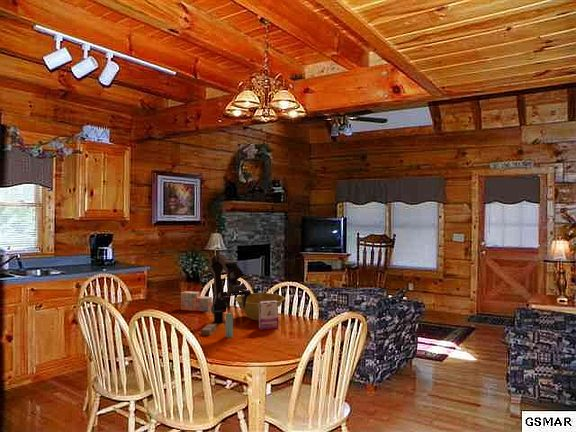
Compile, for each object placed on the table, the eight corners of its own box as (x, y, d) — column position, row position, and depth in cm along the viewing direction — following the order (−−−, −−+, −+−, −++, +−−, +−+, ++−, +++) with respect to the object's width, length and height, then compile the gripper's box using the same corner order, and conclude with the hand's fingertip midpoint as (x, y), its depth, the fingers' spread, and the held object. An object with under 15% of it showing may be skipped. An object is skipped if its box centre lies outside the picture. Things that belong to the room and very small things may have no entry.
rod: (226, 335, 261) (226, 312, 261) (233, 335, 261) (233, 313, 260) (224, 337, 257) (224, 314, 257) (231, 337, 257) (231, 314, 256)
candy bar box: (276, 326, 280) (276, 300, 280) (278, 328, 276) (278, 301, 275) (258, 327, 277) (258, 301, 277) (260, 330, 273) (260, 302, 272)
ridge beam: (208, 328, 275) (208, 323, 275) (216, 328, 275) (216, 324, 274) (201, 335, 261) (201, 330, 261) (209, 335, 261) (209, 330, 261)
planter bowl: (262, 327, 279) (262, 305, 279) (225, 318, 298) (225, 298, 298) (293, 316, 305) (294, 296, 304) (257, 309, 324) (257, 291, 324)
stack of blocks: (212, 309, 324) (212, 292, 323) (208, 311, 318) (208, 294, 317) (185, 307, 330) (185, 290, 330) (180, 309, 324) (180, 292, 324)
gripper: (222, 280, 257) (225, 307, 252) (252, 277, 266) (256, 304, 261) (215, 284, 266) (219, 311, 261) (245, 282, 275) (249, 308, 270)
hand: (236, 308), depth 263 cm, fingers open, 9 cm apart
